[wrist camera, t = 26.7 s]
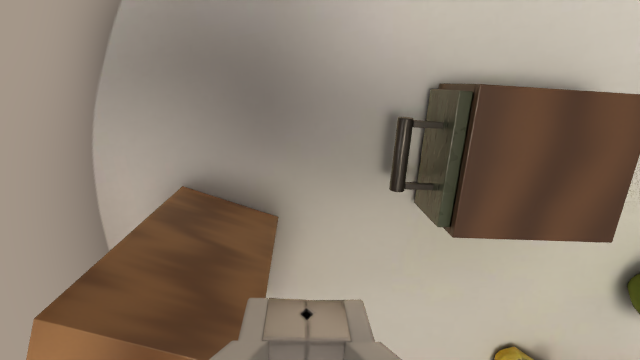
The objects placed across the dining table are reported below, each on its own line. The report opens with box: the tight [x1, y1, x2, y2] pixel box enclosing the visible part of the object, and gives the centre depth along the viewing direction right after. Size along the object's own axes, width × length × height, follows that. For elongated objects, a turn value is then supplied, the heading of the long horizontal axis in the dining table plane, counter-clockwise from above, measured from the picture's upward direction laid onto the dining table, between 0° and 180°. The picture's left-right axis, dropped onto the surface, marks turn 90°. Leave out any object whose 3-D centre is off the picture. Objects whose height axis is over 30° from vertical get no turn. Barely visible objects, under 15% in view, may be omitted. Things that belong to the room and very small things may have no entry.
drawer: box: [389, 89, 473, 227], centre depth 34 cm, size 19×12×7 cm, turn 87°
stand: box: [26, 186, 278, 360], centre depth 29 cm, size 11×11×22 cm
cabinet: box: [439, 84, 640, 243], centre depth 35 cm, size 16×14×9 cm
